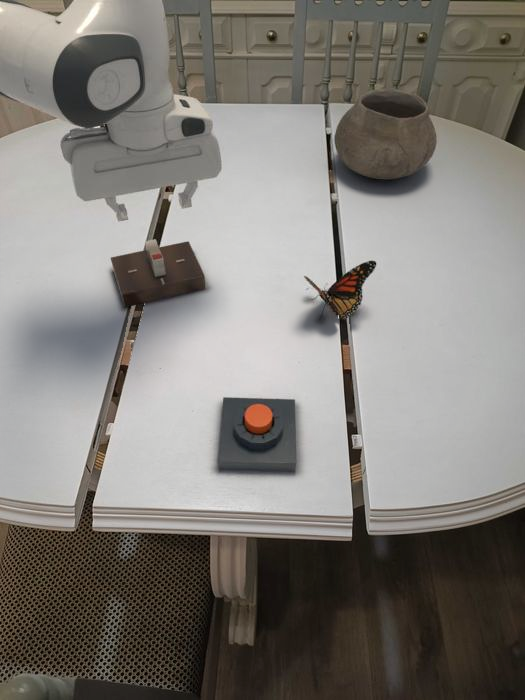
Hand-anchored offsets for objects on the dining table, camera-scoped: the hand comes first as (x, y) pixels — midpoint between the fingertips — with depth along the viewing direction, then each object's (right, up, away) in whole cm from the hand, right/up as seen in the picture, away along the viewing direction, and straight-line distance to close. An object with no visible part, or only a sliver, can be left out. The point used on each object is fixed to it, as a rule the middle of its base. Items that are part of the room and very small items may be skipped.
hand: (154, 212), depth 78 cm
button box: (+15, -32, -5) cm, 36 cm away
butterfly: (+27, -14, +11) cm, 32 cm away
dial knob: (-2, -6, +13) cm, 14 cm away
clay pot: (+42, +20, +41) cm, 62 cm away
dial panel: (-2, -8, +15) cm, 17 cm away
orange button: (+15, -30, -8) cm, 34 cm away
